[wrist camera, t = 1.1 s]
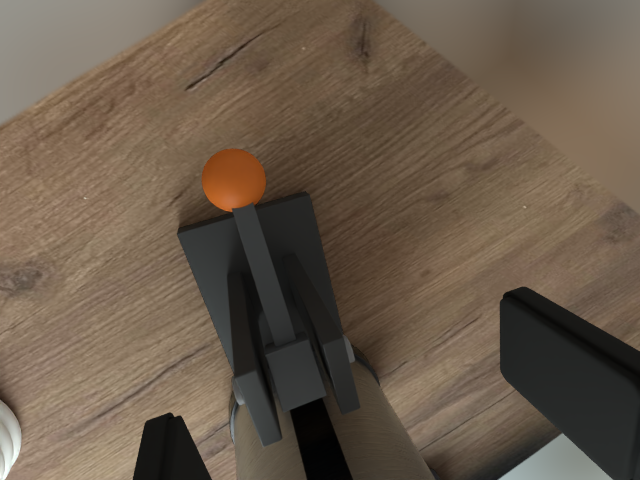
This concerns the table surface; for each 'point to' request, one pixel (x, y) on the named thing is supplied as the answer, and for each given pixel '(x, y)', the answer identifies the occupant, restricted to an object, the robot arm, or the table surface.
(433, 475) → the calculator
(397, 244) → the table surface
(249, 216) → the switch lever
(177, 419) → the robot arm
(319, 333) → the switch base
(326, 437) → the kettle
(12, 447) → the white jar lid
